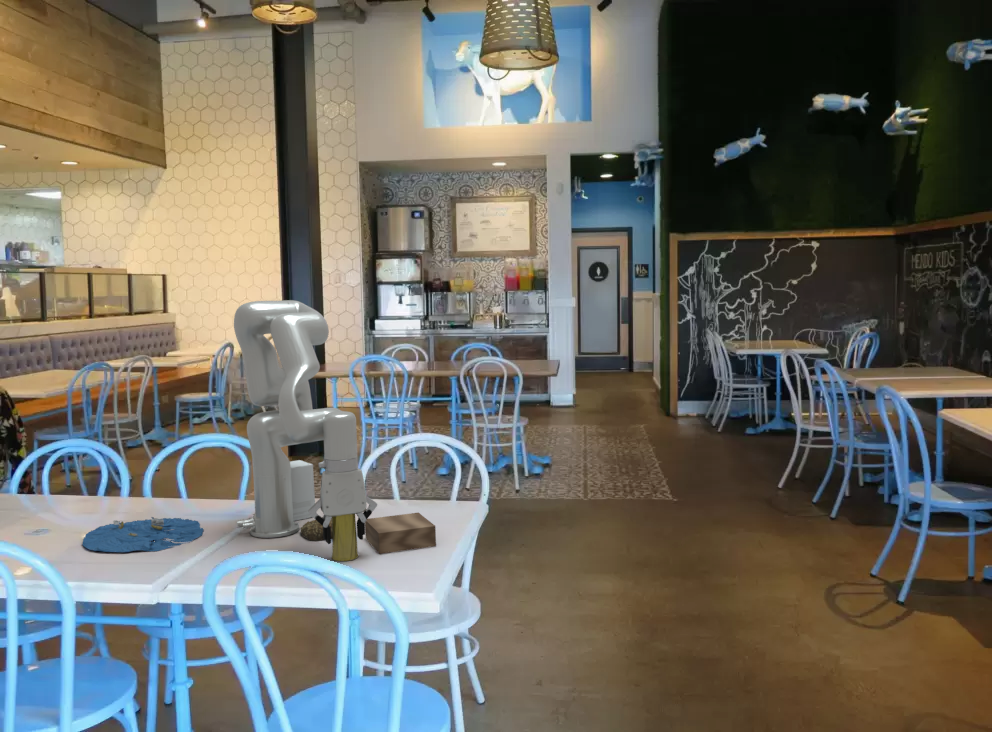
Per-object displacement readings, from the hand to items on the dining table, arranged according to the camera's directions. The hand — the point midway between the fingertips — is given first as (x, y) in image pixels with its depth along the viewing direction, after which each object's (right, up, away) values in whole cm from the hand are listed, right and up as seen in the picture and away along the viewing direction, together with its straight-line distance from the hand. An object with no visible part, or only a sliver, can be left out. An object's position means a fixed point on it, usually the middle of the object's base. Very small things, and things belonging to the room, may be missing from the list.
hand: (344, 539), depth 200 cm
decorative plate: (-55, -4, +22) cm, 60 cm away
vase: (0, -4, 0) cm, 4 cm away
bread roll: (-8, -3, +21) cm, 23 cm away
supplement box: (-21, -2, +38) cm, 44 cm away
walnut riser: (+12, -3, +11) cm, 17 cm away
